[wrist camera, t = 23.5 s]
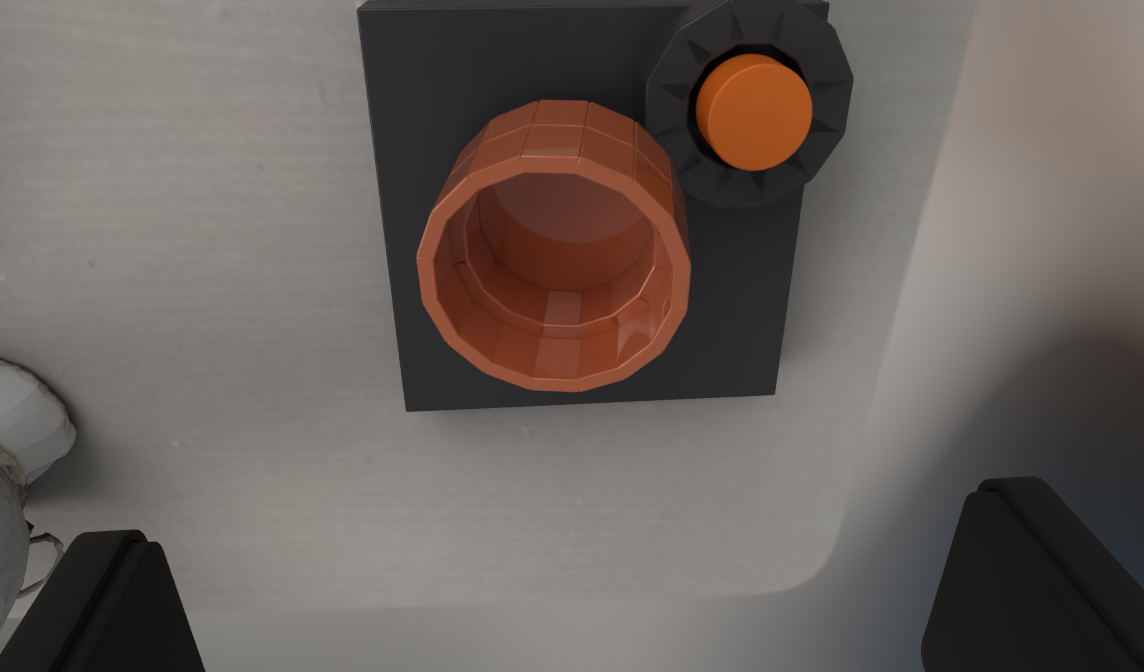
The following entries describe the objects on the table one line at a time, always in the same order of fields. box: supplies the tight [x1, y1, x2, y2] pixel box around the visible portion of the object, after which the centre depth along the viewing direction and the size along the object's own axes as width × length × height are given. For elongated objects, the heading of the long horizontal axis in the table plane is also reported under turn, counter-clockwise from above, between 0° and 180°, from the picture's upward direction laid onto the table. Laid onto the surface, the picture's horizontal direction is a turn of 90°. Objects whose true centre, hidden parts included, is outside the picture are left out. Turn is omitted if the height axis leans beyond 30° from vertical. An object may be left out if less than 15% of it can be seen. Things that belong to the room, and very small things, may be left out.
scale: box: [357, 0, 853, 412], centre depth 25 cm, size 13×13×4 cm
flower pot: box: [416, 100, 691, 392], centre depth 22 cm, size 7×7×4 cm
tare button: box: [696, 54, 813, 171], centre depth 22 cm, size 3×3×2 cm
